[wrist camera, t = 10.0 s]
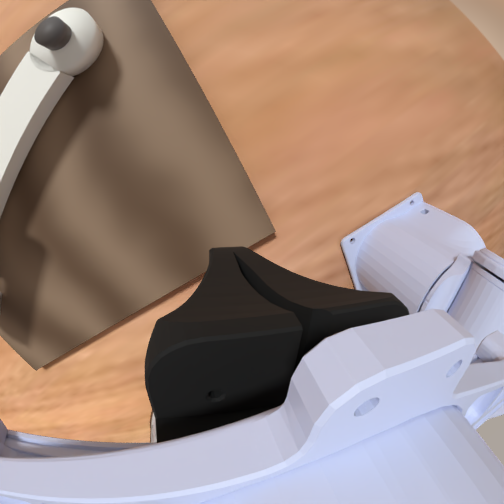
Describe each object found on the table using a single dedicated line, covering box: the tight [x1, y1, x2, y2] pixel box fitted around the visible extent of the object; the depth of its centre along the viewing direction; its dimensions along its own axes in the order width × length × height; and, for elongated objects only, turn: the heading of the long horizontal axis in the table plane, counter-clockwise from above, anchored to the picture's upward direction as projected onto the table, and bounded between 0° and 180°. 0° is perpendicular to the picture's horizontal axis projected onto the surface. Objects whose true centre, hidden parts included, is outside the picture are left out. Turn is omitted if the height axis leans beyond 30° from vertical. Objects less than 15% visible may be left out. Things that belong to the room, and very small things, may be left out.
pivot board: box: [0, 0, 276, 370], centre depth 14 cm, size 26×22×6 cm
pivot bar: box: [0, 8, 103, 218], centre depth 12 cm, size 18×4×2 cm, turn 139°
